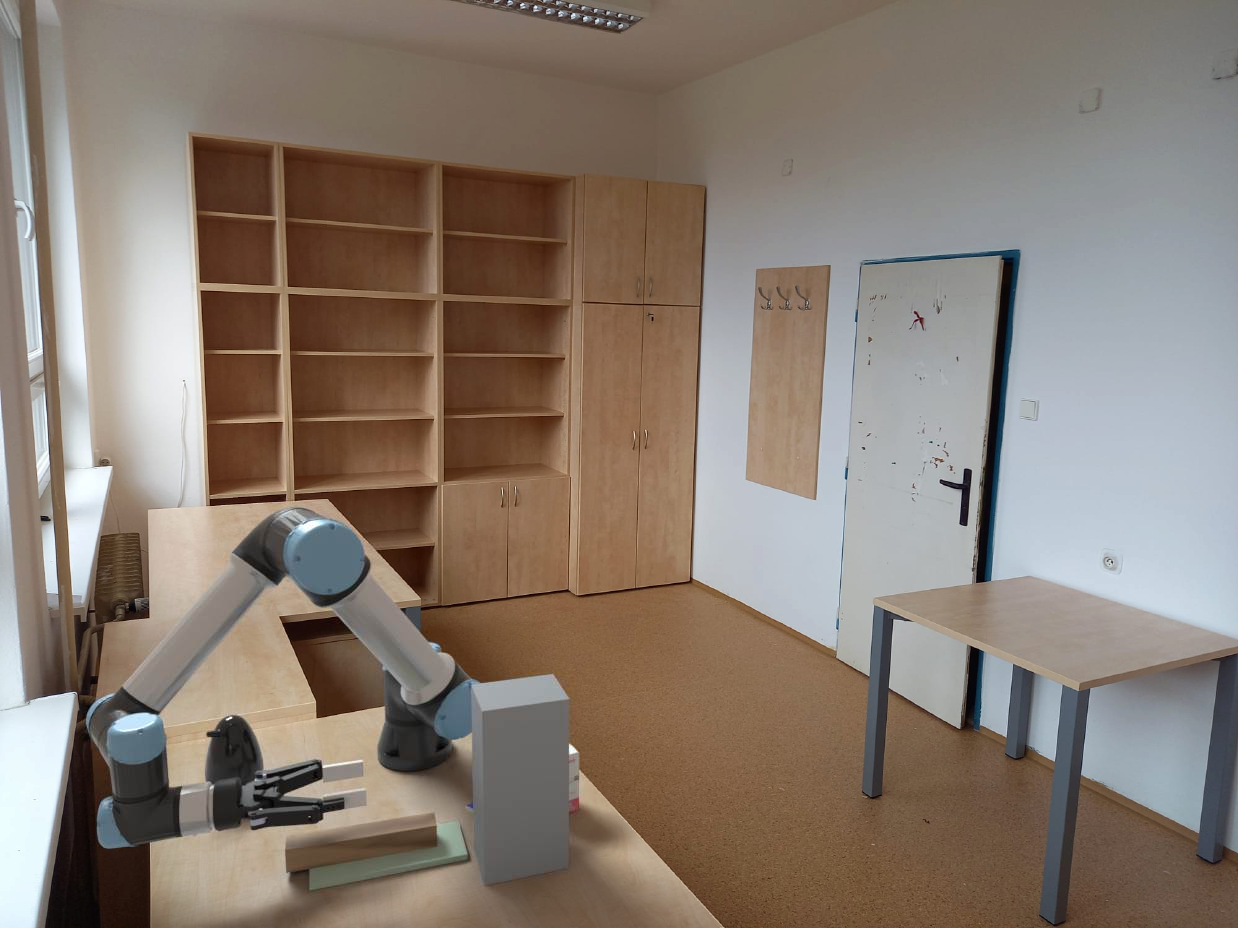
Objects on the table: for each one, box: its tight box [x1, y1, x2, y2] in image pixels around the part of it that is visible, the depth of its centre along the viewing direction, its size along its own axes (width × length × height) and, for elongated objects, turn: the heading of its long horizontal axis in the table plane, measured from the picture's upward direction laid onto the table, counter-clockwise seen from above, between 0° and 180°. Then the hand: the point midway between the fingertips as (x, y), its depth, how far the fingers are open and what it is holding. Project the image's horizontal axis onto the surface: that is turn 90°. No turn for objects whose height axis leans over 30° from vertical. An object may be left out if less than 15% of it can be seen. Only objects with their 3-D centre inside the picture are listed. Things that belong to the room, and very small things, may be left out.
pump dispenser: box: [204, 714, 265, 785], centre depth 161 cm, size 10×10×15 cm
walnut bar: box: [284, 812, 437, 874], centre depth 143 cm, size 4×24×4 cm, turn 108°
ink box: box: [569, 742, 580, 813], centre depth 157 cm, size 9×5×12 cm, turn 118°
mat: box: [308, 820, 469, 891], centre depth 143 cm, size 10×25×1 cm, turn 109°
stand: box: [471, 673, 570, 886], centre depth 141 cm, size 10×14×30 cm
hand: (364, 781), depth 140 cm, fingers open, 8 cm apart
